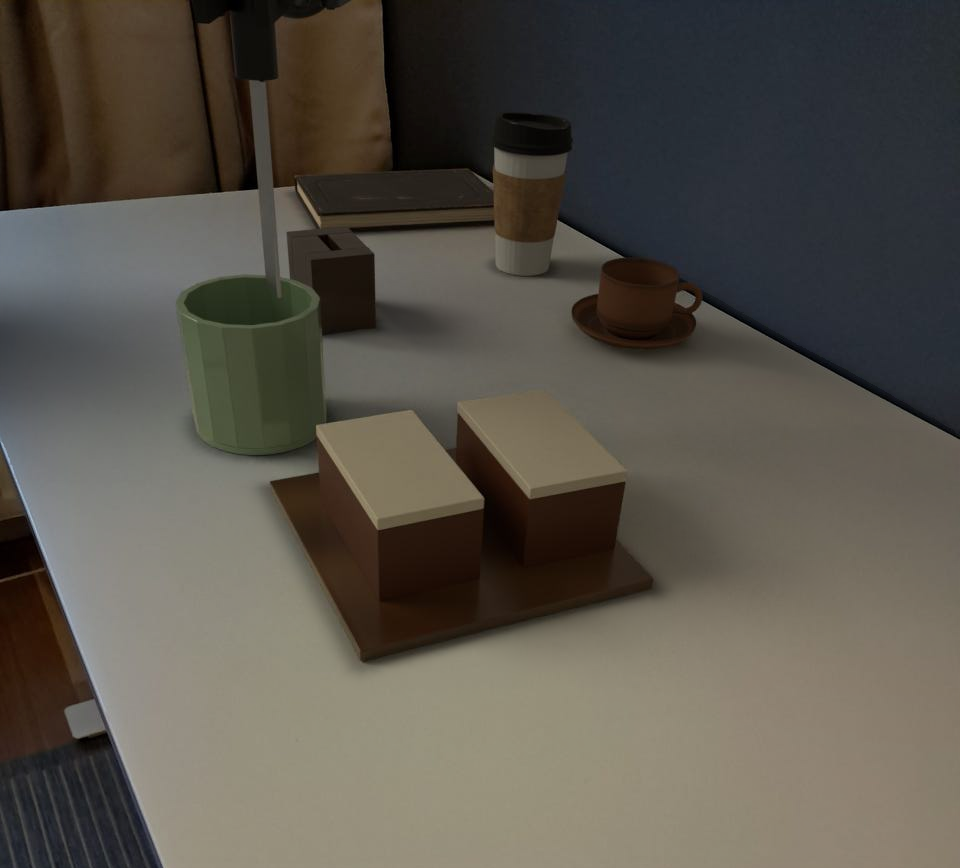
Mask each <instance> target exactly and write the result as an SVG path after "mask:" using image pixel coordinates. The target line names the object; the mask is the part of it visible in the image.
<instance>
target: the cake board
mask: <svg viewBox="0 0 960 868" xmlns="http://www.w3.org/2000/svg"><path fill="white" fill-rule="evenodd" d="M445 451H446V452H447V453H448V454H449V456H450V457H451V458H452V459H453V460H454V462H455V463H456V447H453V448H448V449H447V448H446V449H445ZM269 490H270V492H271V494H272V496H273V498H274V499H275V501H276V503H277V505H278V507H279V509H280V511H281V513H282V515H283V516H284V519H285V521H286V522H287V524H288V526H289V528H290V530H291V532H292V534H293V536H294V537H295V539H296V541H297V544H298V545H299V547H300V549H301V551H302V553H303V554H304V557H305V559H306V560H307V563H308V564H309V567H310V568H311V570H312V572H313V574H314V576H315V578H316V579H317V581H318V583H319V585H320V587H321V589H322V591H323V593H324V595H325V597H326V599H327V601H328V602H329V604H330V606H331V608H332V610H333V612H334V613H335V615H336V617H337V619H338V621H339V623H340V625H341V627H342V629H343V631H344V632H345V634H346V636H347V638H348V640H349V642H350V644H351V646H352V647H353V650H354V651H355V653H356V655H357V657H358V659H359V661H360V662H363V661H368V660H371V659H376V658H379V657H383V656H387V655H393V654H396V653H399V652H404V651H407V650H411V649H415V648H418V647H424V646H427V645H431V644H435V643H439V642H443V641H444V642H445V641H447V640H452V639H455V638H459V637H464V636H467V635H471V634H475V633H478V632H479V633H480V632H483V631H487V630H491V629H495V628H499V627H503V626H506V625H511V624H515V623H519V622H522V621H527V620H530V619H535V618H539V617H542V616H547V615H551V614H555V613H558V612H563V611H566V610H571V609H575V608H579V607H583V606H587V605H591V604H595V603H598V602H599V603H600V602H602V601H606V600H611V599H615V598H618V597H622V596H627V595H631V594H634V593H638V592H642V591H646V590H651V589H652V588H653V585H654V581H655V579H654V577H653V576H652V575H651V574H650V573H649V572H648V571H647V570H646V568H645V567H644V566H642V565H641V563H640V562H639V561H638V560H637V559H636V558H635V557H634V556H633V555H632V554H631V553H630V552H629V550H627V549H626V547H624V546H623V544H622V543H621V542H620V541H619V540H618V539H617V538H616V544H615V549H611V550H606V551H602V552H597V553H592V554H587V555H583V556H578V557H573V558H569V559H564V560H559V561H555V562H550V563H545V564H540V565H536V566H531V567H526V568H523V567H522V566H521V564H520V563H519V562H518V560H517V559H516V558H515V556H514V555H513V554H512V552H511V551H510V550H509V548H508V547H507V546H506V544H505V543H504V542H503V540H502V539H501V538H500V536H499V535H498V534H497V532H496V531H495V530H494V528H493V527H492V526H491V524H490V523H489V522H488V520H487V519H486V518H485V516H483V532H482V549H481V566H480V578H478V579H474V580H470V581H465V582H461V583H457V584H452V585H448V586H444V587H439V588H435V589H431V590H426V591H422V592H418V593H413V594H409V595H405V596H400V597H396V598H392V599H387V600H383V601H379V600H378V598H377V597H376V595H375V593H374V591H373V590H372V588H371V586H370V585H369V583H368V581H367V579H366V578H365V576H364V574H363V573H362V571H361V569H360V568H359V566H358V564H357V562H356V561H355V559H354V557H353V556H352V554H351V552H350V551H349V549H348V547H347V545H346V544H345V542H344V540H343V539H342V537H341V535H340V534H339V532H338V530H337V528H336V527H335V525H334V523H333V522H332V520H331V518H330V517H329V515H328V513H327V511H326V510H325V508H324V506H323V505H322V503H321V495H320V480H319V471H318V472H314V473H313V472H312V473H307V474H302V475H296V476H291V477H286V478H280V479H275V480H273V479H272V480H270V481H269Z"/></svg>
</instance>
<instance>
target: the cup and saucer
mask: <svg viewBox="0 0 960 868" xmlns="http://www.w3.org/2000/svg"><path fill="white" fill-rule="evenodd" d="M680 278H681V274H680V272H679V270H678V269H677V268H676V267H674V266H672V265H670V264H669V263H665V262H663V261H659V260H655V259H651V258H644V257H618V258H617V257H616V258H613V259H610V260H607V261H605V262H604V263H603V264H602V265H601V268H600V276H599V285H598V293H595V294H590V295H587V296H584V297H582V298H581V299H579V300H577V301H576V302H575V303H573V305H572V307H571V319H572V321H573V323H574V324H575V325H576V327H577V328H578V329H579V330H580V331H581V332H582V333H583V334H584V335H586V336H589V337H590V338H591V339H593V340H596V341H598V342H600V343H603V344H606V345H609V346H612V347H618V348H623V349H629V350H659V349H664V348H669V347H672V346H676V345H677V344H680V343H682V342H683V341H685V340H686V339H688V338H689V337H691V336H692V334H693V333H694V332H695V329H696V327H697V318H696V317H695V315H694V314H693V313H695V312H696V311H697V310H698V309H699V308H700V307H701V305H702V303H703V292H702V290H701V288H700V287H699V286H698V285H697V284H694V283H692V282H680ZM682 291H690V292H692V293H693V294H694V297H695V298H694V301H693V303H692V305H690V306H688V307H685V306H683V305H681V304H679V303H677V302H676V298H677V293H680V292H682Z"/></svg>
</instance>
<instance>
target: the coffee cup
mask: <svg viewBox="0 0 960 868" xmlns="http://www.w3.org/2000/svg"><path fill="white" fill-rule="evenodd" d="M490 138H491V140H490V144H491V146H492V147H493V148H494V149H493V150H494V151H493V152H494V153H493V154H494V164H492V184H493V189H492V191H493V192H494V220H495V224H494V235H495V237H494V238H495V239H494V241H495V245H494V247H495V249H494V250H495V251H494V252H495V266H496V268H497V270H499V271H501V272H503V273H505V274H508V275H513V276H520V277H532V276H533V277H535V276H540V275H542V274H545V273H546V272H548V270H549V268H550V263H551V257H552V252H553V245H554V239H555V235H556V231H557V225H558V219H559V214H560V209H561V204H562V197H563V193H564V187H565V183H566V182H565V181H566V178H567V177H566V176H567V169H566V165H567V159H568V154H569V153H570V152H571V151H572V150H573V142H574V140H573V139H574V138H573V137H572V123H571V121H570V120H568V119H566V118H564V117H561V116H558V115H553V114H547V113H537V112H522V111H521V112H520V111H498V112H497V113H496V114H495V117H494V123H493V129H492V132H491V134H490Z"/></svg>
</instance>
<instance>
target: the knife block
mask: <svg viewBox="0 0 960 868" xmlns="http://www.w3.org/2000/svg"><path fill="white" fill-rule="evenodd" d="M286 244H287V246H286V247H287V260H288V270H289V272H288V273H289V279H292V280H296V281H298V282H300V283H303V284H305V285H307V286H309V287H311V288H313V290H314V291H315V292H316V293H317V295H318V296H319V297H320V306H321V323H322V336H324V335H330V334H331V335H332V334H339V333H345V332H354V331H362V330H369V329H370V330H371V329H376V328H377V312H376V311H377V307H376V306H377V305H376V303H377V302H376V262H375V261H376V259H375V253H374V252H373V250H371V249H370V248H369V247H368V246H367V245H366V244H365V243H364V242H363V241H362V240H361V239H360V238H359V237H358V236H357V235H356V234H355V232H352V231H351V230H350V229H349V228H348V227H347V226H345V227H334V228H322V229H316V228H311V229H301V230H291V231H286Z"/></svg>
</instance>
